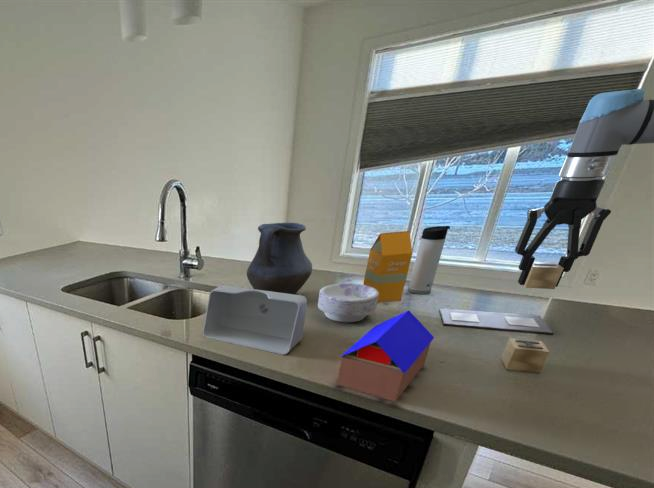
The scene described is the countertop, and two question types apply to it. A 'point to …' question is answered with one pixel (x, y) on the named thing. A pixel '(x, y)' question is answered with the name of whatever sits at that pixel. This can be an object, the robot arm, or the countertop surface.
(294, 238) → the pitcher
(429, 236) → the travel mug
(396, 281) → the orange juice
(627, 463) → the countertop surface
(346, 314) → the paper bowls
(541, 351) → the wooden letter cube
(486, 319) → the word board
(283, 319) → the gray plastic bin
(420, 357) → the house
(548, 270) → the wooden letter tile box
